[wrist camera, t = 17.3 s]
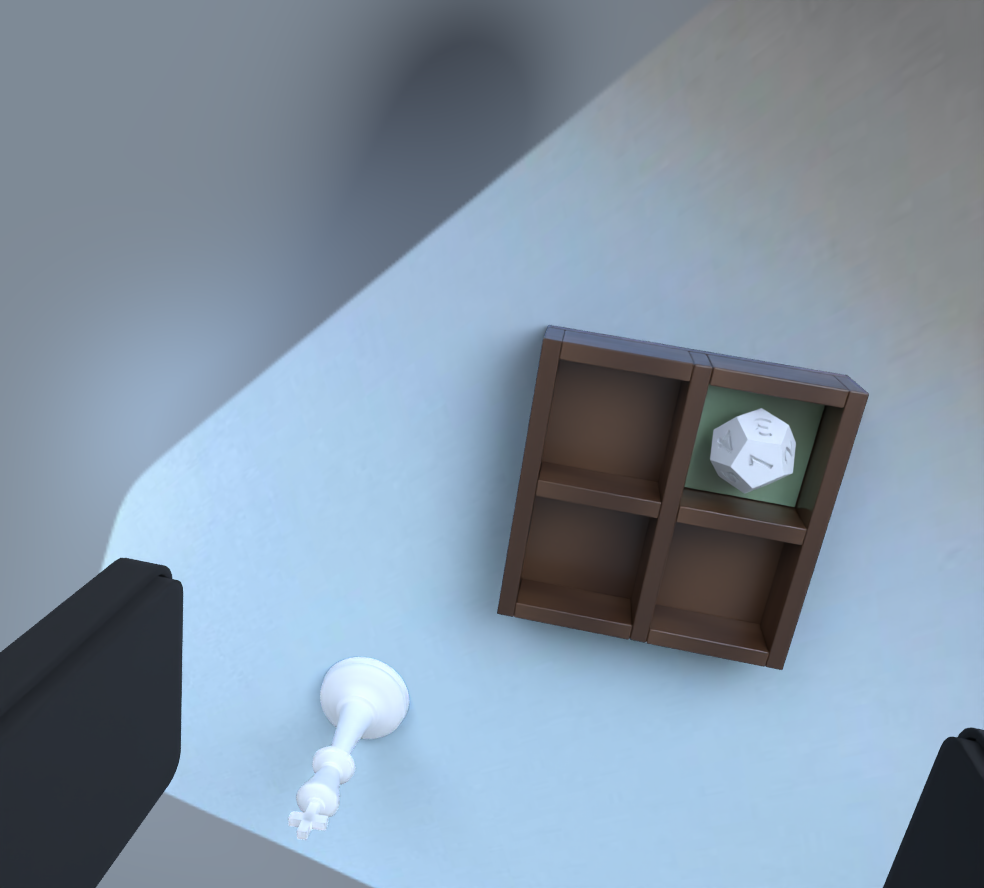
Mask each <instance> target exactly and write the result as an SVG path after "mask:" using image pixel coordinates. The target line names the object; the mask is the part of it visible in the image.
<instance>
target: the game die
mask: <svg viewBox="0 0 984 888" xmlns="http://www.w3.org/2000/svg"><path fill="white" fill-rule="evenodd" d="M795 447H796V442H795V439H794V437H793V434H792V432H791V429H790V427H789V425H788V424H786V423H785V422H783V421H782V420H780V419H778V418H777V417H775V416H773V415H772V414H770V413H769V412H767V411H765V410H764V409H762V408H761V409H758V410H755V411H752V412H749V413H746V414H743V415H740V416H737V417H735V418H733V419H732V420H730V421H728V422H726V423H725V424H723V425H721V426H719V427H718V428H716V429H714V431H713V439H712V447H711V455H710V461H711V463H712V465H713V466H714V468H715V470H716V472H717V474H718V476H719V477H721V478H722V479H724V480H725V481H727V482H728V483H730V484H731V485H732V486H734V487H735V488H737V489H738V490H740V491H741V492H743V493H744V494H745V493H747V492H750V491H753V490H755V489H758V488H760V487H763V486H766V485H768V484H770V483H773V482H775V481H777V480H779V479H781V478H783V477H786V476H788V475H790V474H792V473H793V467H794V457H795Z"/></svg>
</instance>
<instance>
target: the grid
mask: <svg viewBox="0 0 984 888" xmlns="http://www.w3.org/2000/svg"><path fill="white" fill-rule="evenodd" d="M868 396H869V393H867V392H866V391H865V390H864V389H863V388H862V387H860V386H859V385H858V384H857V383H856V382H855V381H853V380H852V379H851V378H850V377H849V376H847V375H842V374H836V373H830V372H824V371H818V370H812V369H806V368H800V367H794V366H788V365H783V364H777V363H771V362H765V361H759V360H753V359H747V358H741V357H735V356H729V355H723V354H718V353H712V352H706V351H700V350H694V349H688V348H682V347H676V346H670V345H664V344H658V343H653V342H647V341H641V340H635V339H629V338H623V337H617V336H611V335H605V334H599V333H593V332H588V331H582V330H576V329H570V328H564V327H558V326H552V325H548V327H547V330H546V333H545V335H544V338H543V343H542V349H541V355H540V360H539V366H538V372H537V378H536V384H535V390H534V396H533V402H532V408H531V414H530V420H529V426H528V432H527V438H526V444H525V450H524V456H523V462H522V468H521V474H520V480H519V485H518V491H517V497H516V503H515V509H514V515H513V521H512V527H511V533H510V539H509V545H508V551H507V557H506V563H505V569H504V575H503V581H502V587H501V593H500V599H499V605H498V610H497V614H501V615H506V616H511V617H513V616H514V617H517V618H522V619H527V620H532V621H537V622H542V623H547V624H552V625H557V626H562V627H567V628H572V629H577V630H583V631H588V632H593V633H598V634H603V635H608V636H613V637H618V638H623V639H629V638H630V639H631V640H634V641H639V642H646V641H647V643H648V644H653V645H658V646H663V647H668V648H673V649H678V650H683V651H688V652H693V653H698V654H703V655H708V656H713V657H718V658H723V659H729V660H734V661H739V662H744V663H749V664H754V665H759V666H766V667H769V668H774V669H779V670H782V669H783V666H784V663H785V660H786V657H787V653H788V650H789V647H790V644H791V641H792V638H793V634H794V631H795V628H796V625H797V622H798V619H799V615H800V612H801V609H802V606H803V603H804V599H805V596H806V593H807V590H808V587H809V584H810V580H811V577H812V574H813V571H814V568H815V564H816V561H817V558H818V555H819V552H820V549H821V545H822V542H823V539H824V536H825V533H826V530H827V526H828V523H829V520H830V517H831V514H832V510H833V507H834V504H835V501H836V498H837V495H838V491H839V488H840V485H841V482H842V479H843V476H844V472H845V469H846V466H847V463H848V460H849V456H850V453H851V450H852V447H853V444H854V441H855V437H856V434H857V431H858V428H859V425H860V422H861V418H862V415H863V412H864V409H865V406H866V402H867V399H868ZM761 408H762V409H764V410H765V411H767V412H769V413H770V414H772V415H773V416H775V417H777V418H778V419H780V420H782V421H783V422H785V423H786V424H788V425H789V427H790V429H791V432H792V434H793V437H794V439H795V442H796V447H795V457H794V467H793V473H792V474H790V475H788V476H786V477H783V478H781V479H779V480H777V481H775V482H773V483H770V484H768V485H766V486H763V487H760V488H758V489H755V490H753V491H750V492H747V493H745V494H744V493H743V492H741V491H740V490H738V489H737V488H735V487H734V486H732V485H731V484H730V483H728V482H727V481H725V480H724V479H722V478H721V477H719V476H718V474H717V472H716V470H715V468H714V466H713V465H712V463H711V461H710V455H711V447H712V439H713V431H714V429H716V428H718V427H719V426H721V425H723V424H725V423H726V422H728V421H730V420H732V419H733V418H735V417H737V416H740V415H743V414H746V413H749V412H752V411H755V410H758V409H761Z"/></svg>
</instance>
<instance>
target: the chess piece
mask: <svg viewBox="0 0 984 888" xmlns="http://www.w3.org/2000/svg"><path fill="white" fill-rule="evenodd" d="M320 702H321V706H322V709H323V711H324V713H325V715H326V717H327V718H328V720H329V721H330V722H331V723H332V724H333V725H334V726H335V727H336V731H335V735H334V738H333V741H332V744H331V746H328V747H324V748H321V749H319V750H318V751H317V752H316V753H315V755H314V757H313V764H312V765H313V770H314V773H315V774H314V775H313V777H312V778H310V779H309V780H308V781H306V782H305V783H304V784H303V785H302V786H301V787H300V789H299V790H298V792H297V796H296V800H297V804H298V806H299V808H300V809H301V811H302V812H296V811H292V812H291V814H290V816H289V818H288V823H289V826H293V827H298V829H297V839H302V840H307V839H308V836H309V834H310V832H311V830H312V829H315V830H322V831H326V828H327V826H328V824H329V822H328V818H329V817H331V816H333V815H334V814H335V813H336V812H337V810H338V808H339V802H340V794H339V788H340V785H341V784H344V783H346V782H347V781H349V780H350V779H351V778H352V776H353V775H354V773H355V762H354V760H353V758H352V757H351V755H350V754H351V753H352V751H353V749H354V748H355V746H356V744H357V743H358V741H359V740H360V739H377V738H381V737H384V736H386V735H388V734H390V733H392V732H393V731H394V730H395V729H397V728H398V726H399V725H400V724H401V722H402V720H403V719H404V717H405V716H406V714H407V711H408V708H409V693H408V690H407V687H406V685H405V683H404V681H403V680H402V678H401V677H400V676H399V674H398V673H397V672H396V671H395V670H393V669H392V668H391V667H390V666H388V665H386V664H385V663H383V662H381V661H378V660H375V659H372V658H367V657H352V658H348V659H344V660H342V661H340V662H338V663H336V664H335V665H334V666H332V667H331V668H330V669H329V671H328V672H327V674H326V675H325V677H324V680H323V684H322V687H321V691H320Z"/></svg>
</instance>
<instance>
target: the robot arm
mask: <svg viewBox="0 0 984 888" xmlns="http://www.w3.org/2000/svg"><path fill="white" fill-rule="evenodd" d="M182 635H183V587H182V584H181V582H180V581H178V580H174V579H172V574H171V571H170V569H169V568H168V567H166V566H163V565H158V564H153V563H148V562H143V561H139V560H134V559H129V558H120V559H118V560H116V561H114V562H113V563H112V564H111V565H109V566H108V567H107V568H106V569H104V570H103V571H102V572H101V573H99V574H98V575H97V576H96V577H94V578H93V579H92V580H91V581H89V582H88V583H87V584H86V585H84V586H83V587H82V588H81V589H79V590H78V591H77V592H76V593H75V594H73V595H72V596H71V597H69V598H68V599H67V600H66V601H64V602H63V603H62V604H60V605H59V606H58V607H57V608H55V609H54V610H53V611H52V612H50V613H49V614H48V615H47V616H46V617H44V618H43V619H42V620H40V621H39V622H38V623H37V624H35V625H34V626H33V627H32V628H31V629H29V630H28V631H27V632H26V633H24V634H23V635H22V636H20V637H19V638H18V639H17V640H15V642H13V643H12V644H10V645H9V646H8V647H7V648H5V649H4V650H3V651H2V652H0V888H96V886H97V885H98V884H99V882H100V881H101V879H102V878H103V877H104V875H105V874H106V872H107V871H108V869H109V868H110V867H111V865H112V864H113V862H114V861H115V860H116V858H117V857H118V855H119V854H120V853H121V851H122V850H123V848H124V847H125V846H126V844H127V843H128V841H129V840H130V839H131V837H132V836H133V834H134V833H135V832H136V830H137V829H138V827H139V826H140V825H141V823H142V822H143V820H144V819H145V818H146V816H147V815H148V813H149V812H150V810H151V809H152V808H153V806H154V805H155V803H156V802H157V800H158V799H159V798H160V796H161V795H162V794H163V792H164V791H165V789H166V788H167V787H168V785H169V784H170V782H171V780H172V779H173V776H174V774H175V772H176V769H177V766H178V763H179V759H180V752H181V698H182ZM883 888H984V730H981V729H976V728H967V729H964V730H963V731H962V732H961V733H960V734H959V736H958V737H948V738H947V739H946V740H945V741H944V742H943V744H942V745H941V747H940V750H939V752H938V755H937V757H936V759H935V762H934V764H933V767H932V769H931V772H930V774H929V777H928V779H927V781H926V784H925V786H924V789H923V791H922V794H921V796H920V799H919V801H918V803H917V806H916V808H915V811H914V813H913V816H912V818H911V821H910V823H909V825H908V828H907V830H906V833H905V835H904V838H903V840H902V843H901V845H900V847H899V850H898V852H897V855H896V857H895V860H894V862H893V865H892V867H891V869H890V872H889V874H888V877H887V879H886V882H885V884H884V887H883Z"/></svg>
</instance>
